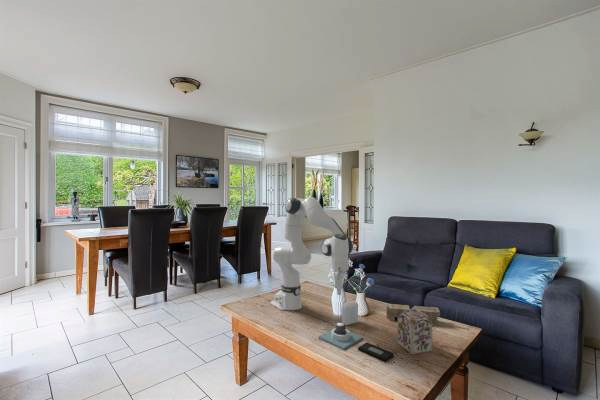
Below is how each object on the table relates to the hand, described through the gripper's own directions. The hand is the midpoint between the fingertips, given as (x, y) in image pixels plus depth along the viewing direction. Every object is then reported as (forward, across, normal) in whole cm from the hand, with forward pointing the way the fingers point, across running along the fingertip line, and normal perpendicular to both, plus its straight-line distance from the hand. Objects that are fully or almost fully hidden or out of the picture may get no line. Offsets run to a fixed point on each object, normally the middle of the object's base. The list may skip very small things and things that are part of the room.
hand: (340, 291), depth 159 cm
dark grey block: (+21, -7, -1) cm, 22 cm away
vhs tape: (+22, -18, -18) cm, 34 cm away
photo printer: (+23, +13, -4) cm, 27 cm away
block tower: (+24, +26, -40) cm, 53 cm away
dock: (+22, -8, -1) cm, 23 cm away
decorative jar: (+22, -7, -37) cm, 43 cm away
